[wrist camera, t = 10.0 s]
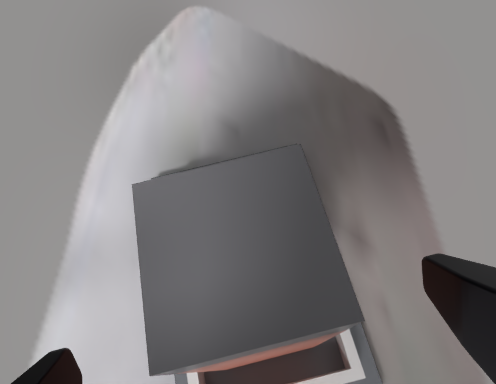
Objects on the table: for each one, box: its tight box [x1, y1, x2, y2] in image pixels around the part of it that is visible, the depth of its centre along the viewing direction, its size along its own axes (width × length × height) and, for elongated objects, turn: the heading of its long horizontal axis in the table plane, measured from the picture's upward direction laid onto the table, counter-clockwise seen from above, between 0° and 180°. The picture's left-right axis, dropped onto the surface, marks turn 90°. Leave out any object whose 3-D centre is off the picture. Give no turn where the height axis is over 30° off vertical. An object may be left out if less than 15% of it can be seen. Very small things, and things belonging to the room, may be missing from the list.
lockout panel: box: [151, 144, 382, 384], centre depth 19 cm, size 15×10×4 cm, turn 13°
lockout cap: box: [132, 144, 365, 376], centre depth 14 cm, size 5×5×12 cm
